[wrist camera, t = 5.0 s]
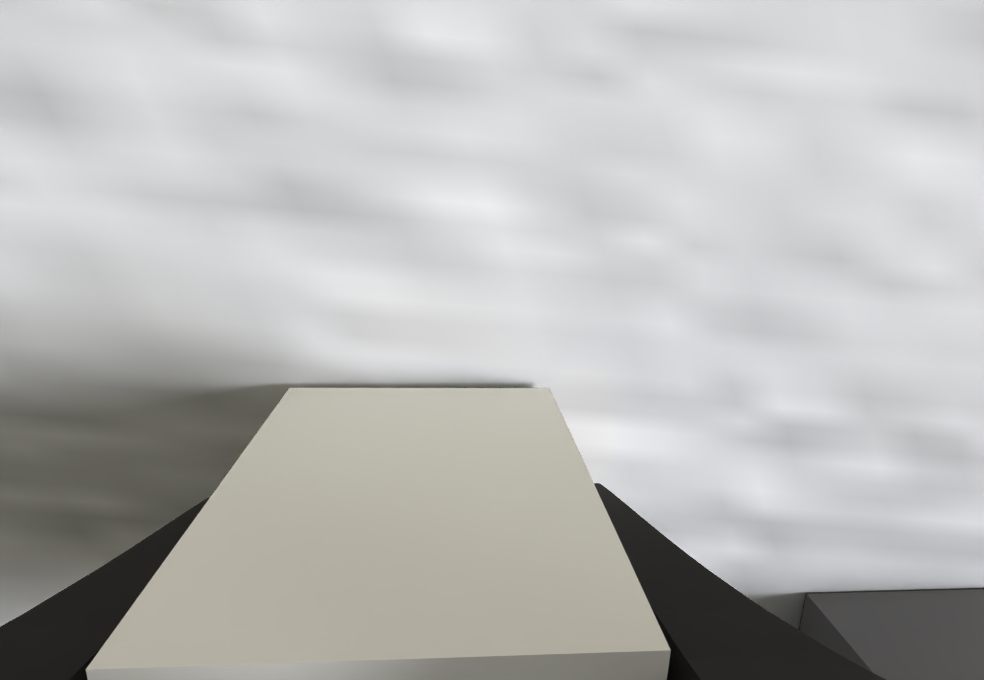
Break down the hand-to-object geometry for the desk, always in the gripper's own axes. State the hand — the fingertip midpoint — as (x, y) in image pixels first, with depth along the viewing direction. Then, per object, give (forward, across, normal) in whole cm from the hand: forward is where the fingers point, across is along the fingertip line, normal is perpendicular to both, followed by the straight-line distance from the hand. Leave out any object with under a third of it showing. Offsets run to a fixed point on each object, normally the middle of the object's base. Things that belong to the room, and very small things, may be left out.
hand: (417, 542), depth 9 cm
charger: (+1, 0, +1) cm, 2 cm away
